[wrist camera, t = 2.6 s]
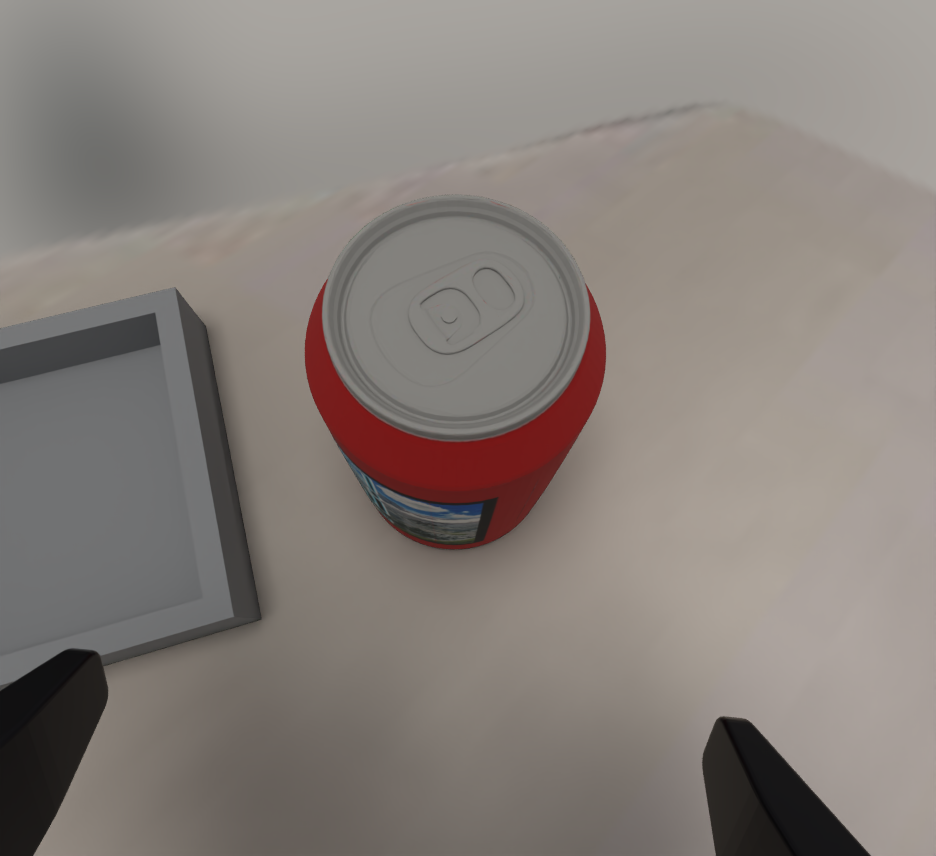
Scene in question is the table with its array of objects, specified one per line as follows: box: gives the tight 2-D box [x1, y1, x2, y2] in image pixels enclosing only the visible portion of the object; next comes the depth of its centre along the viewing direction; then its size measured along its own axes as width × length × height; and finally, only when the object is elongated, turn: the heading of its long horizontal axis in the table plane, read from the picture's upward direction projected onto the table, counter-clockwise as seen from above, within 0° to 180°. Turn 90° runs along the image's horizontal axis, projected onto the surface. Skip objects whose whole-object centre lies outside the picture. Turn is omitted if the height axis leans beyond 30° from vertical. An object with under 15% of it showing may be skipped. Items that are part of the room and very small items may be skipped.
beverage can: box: [305, 195, 606, 549], centre depth 19 cm, size 7×7×12 cm
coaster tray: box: [0, 287, 261, 690], centre depth 22 cm, size 12×12×3 cm
